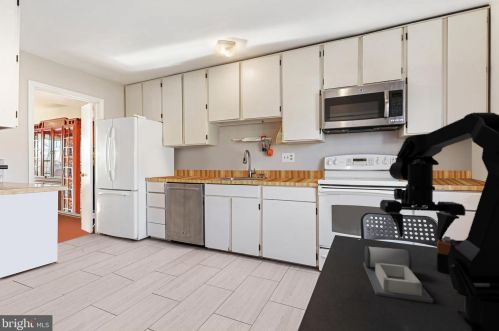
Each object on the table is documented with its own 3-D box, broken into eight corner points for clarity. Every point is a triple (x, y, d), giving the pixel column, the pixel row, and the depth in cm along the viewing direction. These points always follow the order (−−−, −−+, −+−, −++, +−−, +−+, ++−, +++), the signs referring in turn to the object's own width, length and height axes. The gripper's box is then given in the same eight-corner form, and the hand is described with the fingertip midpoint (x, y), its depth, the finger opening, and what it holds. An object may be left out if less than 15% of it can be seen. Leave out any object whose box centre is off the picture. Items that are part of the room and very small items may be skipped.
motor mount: (433, 303, 58) (433, 273, 58) (376, 296, 61) (376, 267, 61) (405, 269, 77) (405, 246, 77) (363, 264, 80) (363, 243, 80)
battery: (436, 271, 75) (436, 238, 75) (438, 265, 80) (438, 234, 80) (455, 276, 72) (455, 241, 72) (456, 268, 77) (456, 236, 77)
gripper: (443, 180, 74) (443, 232, 74) (375, 179, 78) (375, 228, 78) (466, 183, 63) (466, 244, 63) (385, 181, 67) (385, 239, 67)
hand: (419, 238), depth 68 cm, fingers open, 9 cm apart
